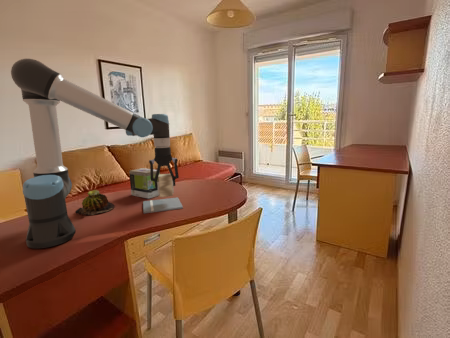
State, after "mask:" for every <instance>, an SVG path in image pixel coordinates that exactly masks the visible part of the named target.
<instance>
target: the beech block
mask: <svg viewBox="0 0 450 338" xmlns="http://www.w3.org/2000/svg"><path fill="white" fill-rule="evenodd" d="M158 181H159V190H160V195H159V197H160V198H165V197H167V198H168V197H173V196H174V193H173V191H172V176H171V174H170V173H160V174H159V176H158Z"/></svg>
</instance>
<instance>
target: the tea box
mask: <svg viewBox="0 0 450 338" xmlns="http://www.w3.org/2000/svg"><path fill="white" fill-rule="evenodd" d="M156 171H157V169H155V168H153V178H155V175H156ZM128 172H129V181H130V183H129V184H130V192H131V193H130V195H131V196H135V197H138V198H143V199H147V200H149V199H150V200H151V199H152V198H157V197H160V195H158V188H155V182H154V181H151V178H150V168H146V167H145V168H143V167H142V168H136V169H132V170H129V171H128ZM159 174H161V171H160V172H159ZM157 181H158V180H157Z"/></svg>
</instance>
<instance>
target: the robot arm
mask: <svg viewBox="0 0 450 338" xmlns="http://www.w3.org/2000/svg"><path fill="white" fill-rule="evenodd" d="M10 74H11V76H10V77H11V79H12V81H13V82H14V84H15V85H16V86H17V87H18V88H19V89H20V90H21V91H20V92H21V96H22V97H21V98H22V101H23V102H24V103H25V104H27V105H28V110H29V117H30V123H31V132H32V138H33V147H34V152H35V159H36V165H37V166H36V168H35V169H34V170H33V171H32V174H33V177H31V178H27V179H26V180H25V181H24V182H23V184H22V195H23V197H24V202H25V208H26V213H27V218H28V223H29V224H28V228H27V233H26V238H25V243H26V246H27V247H28V248H30V249H44V248H45V249H47V248H50V247H51V248H52V247H56V246H57V245H61V244H64V243H66V242H68V241H70V240H71V239H73V238H74V236H75V234H76V228H75V227H76V226H74V224H73V221H72V219H70V217H69V215H68V208H67V202H66V198H67V197H68V196H69V194H70V192H71V190H72V186H73V184H72V180H71V179H70V176H69V168H68V167H67V166H65V165H64V163H63V162H64V161H63V153H62V146H61V145H62V144H61V138H60V129H59V122H58V121H59V119H58V112H57V105H59V104H60V102H63V103H64V104H66V105H69V106H71V107H73V108H76V109H78V110H80V111H82V112H84V113H87V114H89V115H91V116H94V117H96V118H98V119H101V120H102V121H105V122H106V123H109V124H111V125H114V126H116V127H118V128H120V129H122V130H124V131H125V134H126V136H128V137H129V136H130V137H131V136H132V137H137V136H138V137H139V138H146V137H148V136H151V135H152V136H153V146H154V158H153V159H148V163H149V165H150V167H149V169H150V178H151V181H154V182H155V188H158V195H159V196H160V190H159V181H157V180H158V176H159V172H160V173H161V171H160V170H161V167H167V170H168V171H169V174H171V176H172V191H173V194H174V193H175V192H174V191H175V189H174V187H175V186H176V180H178V179H179V177H180V176H179V170H178V160H179V159H178V158H177V157H172V151H171V139H170V137H171V136H170V135H171V134H170V123H169V122H170V120H169V116H168V114H167V113H154V114H151V117H149V118H146V117H142V116H140V115H138V114H135V113H134V112H132V111H130V110H128V109H126V108H124V107H122V106H120V105H118V104H115V103H114V102H112V101H110V100H108V99H106V98H104V97H102V96H100V95H98V94H97V93H93V92H91V91H90V90H87V89H85V88H83V87H81V86H79V85H78V84H76V83H73V82H71V81H69V80H67V79H65V78H64V76H63V74H62V73H60V72H58V71H56V70H54V69H52V68H50V67H48V66H47V65H46V64H44V63H43V62H41V61H39V60H37V59H33V58H22V59H19V60H17V61H15V62H14V63H13V64H12V66H11V69H10ZM171 162H173V167H174V172H173V169H172V167H171V165H170V163H171ZM155 163H156V164H157V167H156V170H157V171H156V175H155V178H153V169H154V165H155ZM174 173H175V174H174Z"/></svg>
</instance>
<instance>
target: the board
mask: <svg viewBox="0 0 450 338" xmlns="http://www.w3.org/2000/svg"><path fill="white" fill-rule="evenodd" d="M142 204H143V205H142V208H143V211H142V212H143V214H149V213H150V214H151V213H152V214H153V213H159V212H165V211H172V210H173V211H174V210H180V209H184V207H183V204H182V202H181V200H180V199H179V197H167V198H162V199H161V198H160V199H153V200H151V199H150V200H143V201H142Z"/></svg>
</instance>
